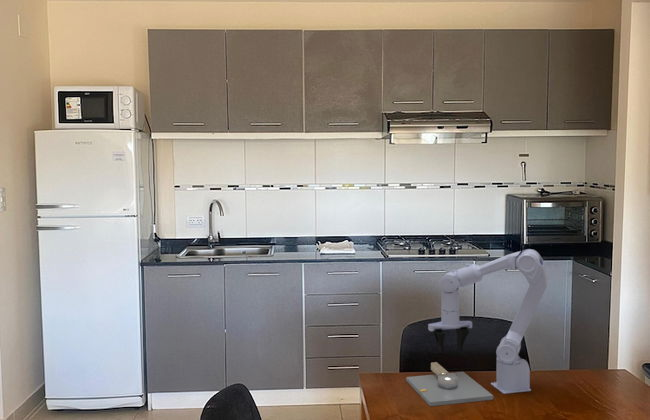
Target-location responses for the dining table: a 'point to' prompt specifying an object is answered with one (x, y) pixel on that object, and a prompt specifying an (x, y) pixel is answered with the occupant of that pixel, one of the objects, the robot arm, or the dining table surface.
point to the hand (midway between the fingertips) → (450, 350)
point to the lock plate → (448, 390)
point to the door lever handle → (444, 377)
